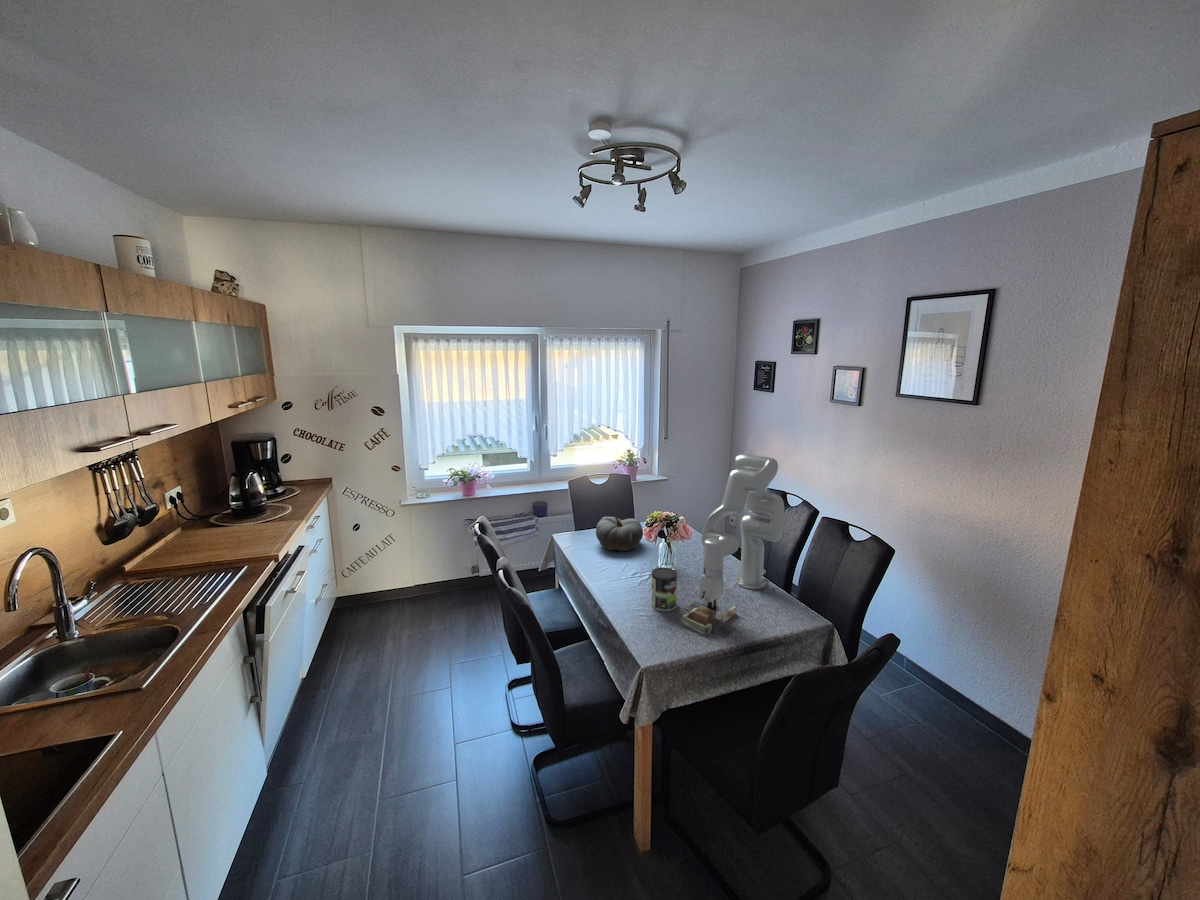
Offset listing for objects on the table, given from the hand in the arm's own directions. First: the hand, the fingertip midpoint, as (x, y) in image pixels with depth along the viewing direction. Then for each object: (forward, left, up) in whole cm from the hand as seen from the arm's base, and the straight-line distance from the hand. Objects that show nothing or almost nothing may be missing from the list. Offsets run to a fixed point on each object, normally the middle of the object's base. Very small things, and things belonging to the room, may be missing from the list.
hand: (711, 614), depth 185 cm
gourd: (-27, -74, -1) cm, 79 cm away
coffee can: (+5, -19, -1) cm, 20 cm away
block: (+6, 0, -1) cm, 6 cm away
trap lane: (+1, 0, -1) cm, 2 cm away
